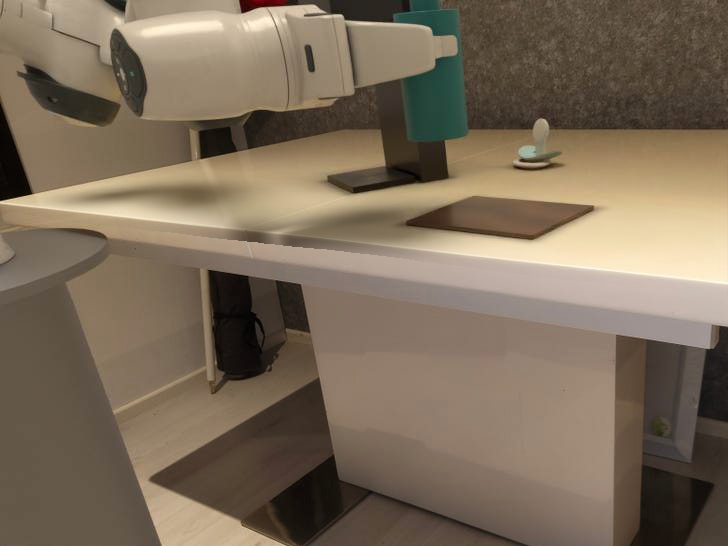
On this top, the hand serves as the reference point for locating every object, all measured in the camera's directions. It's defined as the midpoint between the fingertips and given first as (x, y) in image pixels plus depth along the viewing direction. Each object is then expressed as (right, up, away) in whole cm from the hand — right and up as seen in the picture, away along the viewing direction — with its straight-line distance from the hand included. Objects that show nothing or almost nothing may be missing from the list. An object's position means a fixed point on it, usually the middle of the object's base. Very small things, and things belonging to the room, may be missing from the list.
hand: (437, 46), depth 69 cm
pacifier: (+12, -5, +28) cm, 30 cm away
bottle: (0, -8, +4) cm, 9 cm away
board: (+7, -17, +2) cm, 18 cm away
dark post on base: (-9, -6, +28) cm, 30 cm away
